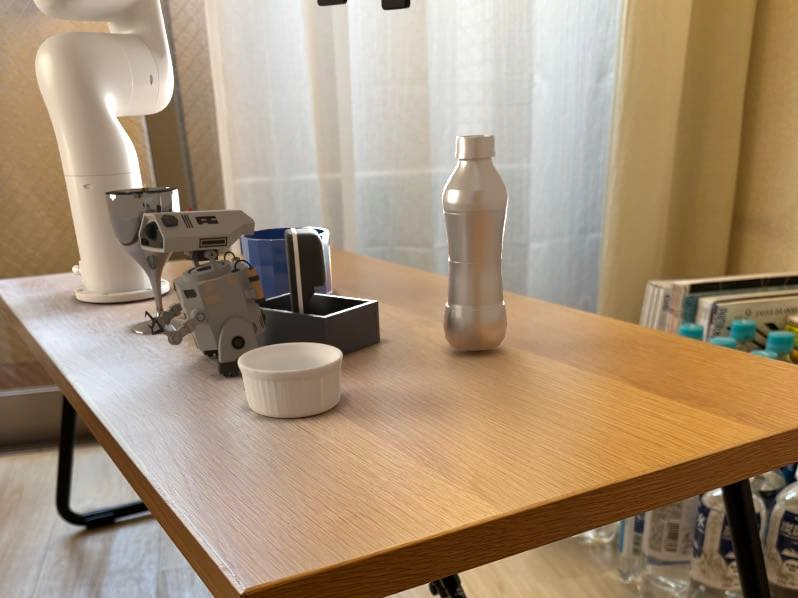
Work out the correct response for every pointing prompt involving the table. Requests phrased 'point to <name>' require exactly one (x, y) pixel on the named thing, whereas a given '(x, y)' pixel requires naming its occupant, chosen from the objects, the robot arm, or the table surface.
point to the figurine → (209, 283)
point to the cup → (278, 259)
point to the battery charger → (304, 266)
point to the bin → (322, 322)
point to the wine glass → (126, 225)
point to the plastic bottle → (475, 247)
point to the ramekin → (292, 379)
